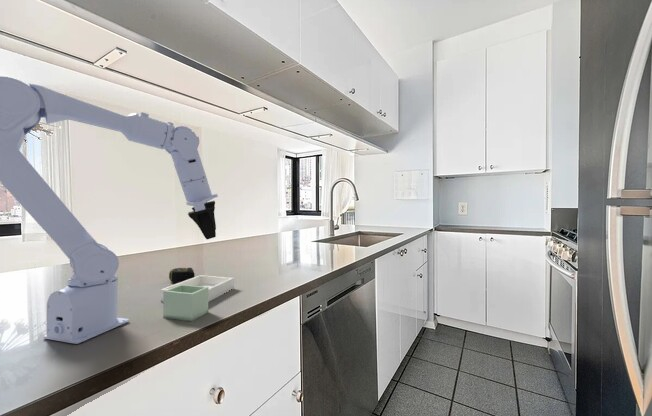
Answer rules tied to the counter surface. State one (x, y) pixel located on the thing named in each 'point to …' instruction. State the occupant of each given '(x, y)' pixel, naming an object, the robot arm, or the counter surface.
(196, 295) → the small crate
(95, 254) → the robot arm
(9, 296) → the counter surface
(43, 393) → the counter surface
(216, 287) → the white shallow tray
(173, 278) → the tape measure
